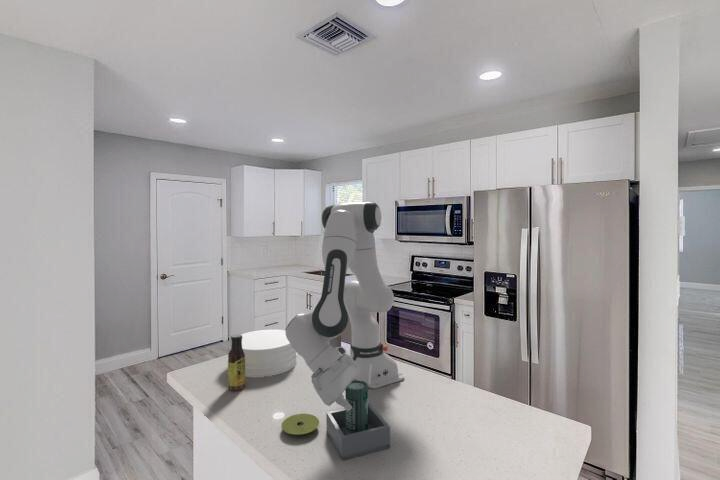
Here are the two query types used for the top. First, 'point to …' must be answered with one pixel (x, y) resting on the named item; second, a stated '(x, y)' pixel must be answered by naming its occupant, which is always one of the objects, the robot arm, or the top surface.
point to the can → (357, 407)
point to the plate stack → (267, 353)
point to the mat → (300, 424)
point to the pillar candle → (336, 341)
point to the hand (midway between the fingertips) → (357, 400)
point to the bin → (357, 434)
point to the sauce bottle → (236, 364)
